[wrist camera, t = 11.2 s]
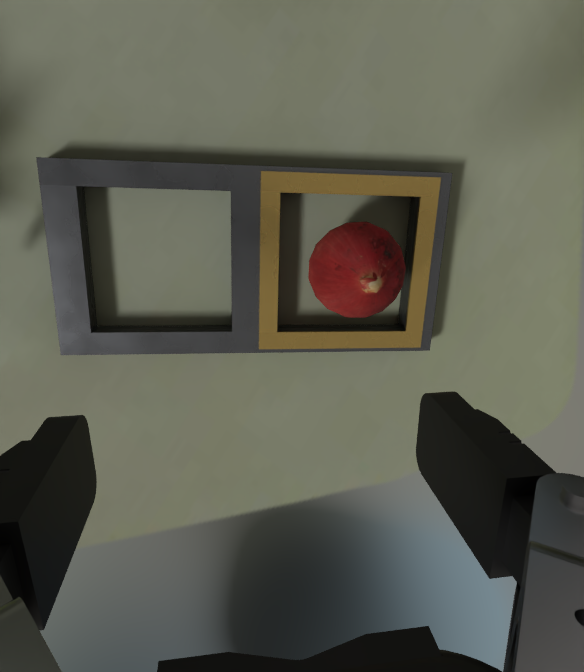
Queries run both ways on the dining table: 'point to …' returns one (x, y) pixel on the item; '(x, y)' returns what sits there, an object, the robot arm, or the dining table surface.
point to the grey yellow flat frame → (239, 256)
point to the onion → (357, 269)
